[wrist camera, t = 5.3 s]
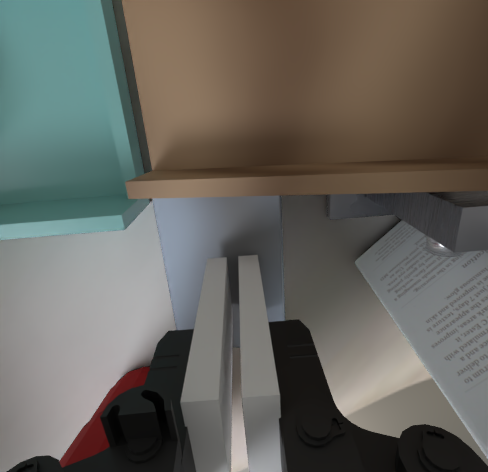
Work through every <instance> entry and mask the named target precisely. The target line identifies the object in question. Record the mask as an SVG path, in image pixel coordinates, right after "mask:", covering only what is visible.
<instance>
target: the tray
mask: <svg viewBox="0 0 488 472" xmlns="http://www.w3.org/2000/svg"><path fill="white" fill-rule="evenodd" d="M143 174H145V173H144V168H143V163H142V158H141V152H140V147H139V142H138V137H137V131H136V126H135V121H134V115H133V110H132V105H131V100H130V94H129V89H128V84H127V79H126V73H125V68H124V63H123V58H122V52H121V47H120V42H119V36H118V31H117V26H116V21H115V15H114V10H113V5H112V0H0V240H6V239H19V238H31V237H43V236H55V235H67V234H80V233H92V232H104V231H116V230H125V229H126V228H127V227H128V226H129V225H130V224H131V223H132V221H133V220H134V219H135V218H136V217H137V216H138V215H139V214H140V213H141V212H142V211H143V210H144V208H145V207H146V206H147V205H148V204H149V203H150V200H149V199H129V198H128V194H127V189H126V184H125V182H126V181H128V180H131V179H133V178H136V177H138V176H141V175H143Z"/></svg>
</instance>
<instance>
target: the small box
mask: <svg viewBox="0 0 488 472" xmlns="http://www.w3.org/2000/svg"><path fill="white" fill-rule="evenodd" d="M426 237H427V235H425V234H424V233H422V232H420V231H419V230H417V229H416V228H414V227H413V226H411V225H409V224H408V223H406V222H405V221H403V220H401V221H400V222H399V223H398V224H397V225H396V226H395V227H393V228H392V229H391V230H390V231H389V232H388V233H387V234H385V235H384V236H383V237H382V238H381V239H380V240H379V241H377V242H376V243H375V244H374V245H373V246H372V247H371V248H369V249H368V250H367V251H366V252H365V253H364V254H362V255H361V256H360V257H359V258H358V259H357V260H356V261H355V265H356V266H357V267H358V269H359V270H360V272H361V273H362V275H363V276H364V278H365V279H366V281H367V282H368V284H369V285H370V287H371V288H372V289H373V291H374V292H375V294H376V295H377V297H378V298H379V300H380V301H381V303H382V304H383V306H384V307H385V308H386V310H387V311H388V313H389V314H390V316H391V317H392V319H393V320H394V322H395V323H396V325H397V326H398V328H399V329H400V331H401V332H402V333H403V335H404V336H405V338H406V339H407V341H408V342H409V344H410V345H411V347H412V348H413V350H414V351H415V353H416V354H417V356H418V357H419V359H420V360H421V362H422V363H423V365H424V366H425V368H426V369H427V371H428V372H429V374H430V375H431V376H432V378H433V379H434V381H435V382H436V384H437V385H438V387H439V388H440V390H441V391H442V392H443V394H444V396H445V397H446V398H447V400H448V401H449V403H450V405H451V406H452V407H453V409H454V410H455V412H456V413H457V415H458V416H459V418H460V419H461V421H462V422H463V424H464V425H465V427H466V428H467V430H468V431H469V432H470V434H471V435H472V437H473V438H474V440H475V441H476V443H477V444H478V446H479V447H480V448H481V450H482V451H483V453H484V454H485V456H486V457H487V459H488V250H482V251H469V252H462V254H461V255H460V256H456V257H443V256H437V255H434V254H431V253H429V252H427V251H426V250H425V243H426Z"/></svg>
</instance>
